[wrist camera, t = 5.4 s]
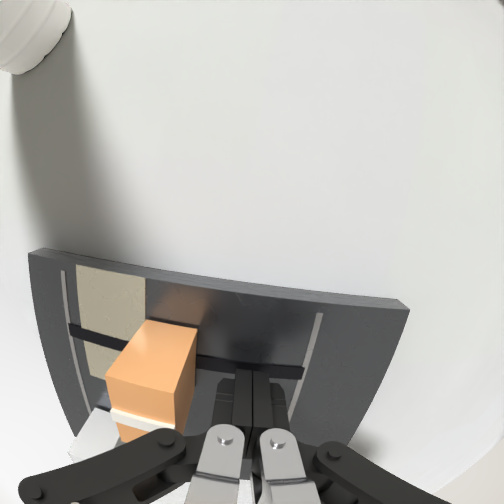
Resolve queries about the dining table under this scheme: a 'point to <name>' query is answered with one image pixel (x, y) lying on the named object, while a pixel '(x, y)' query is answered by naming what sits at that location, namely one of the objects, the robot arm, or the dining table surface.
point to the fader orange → (153, 380)
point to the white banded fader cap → (95, 436)
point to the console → (215, 339)
